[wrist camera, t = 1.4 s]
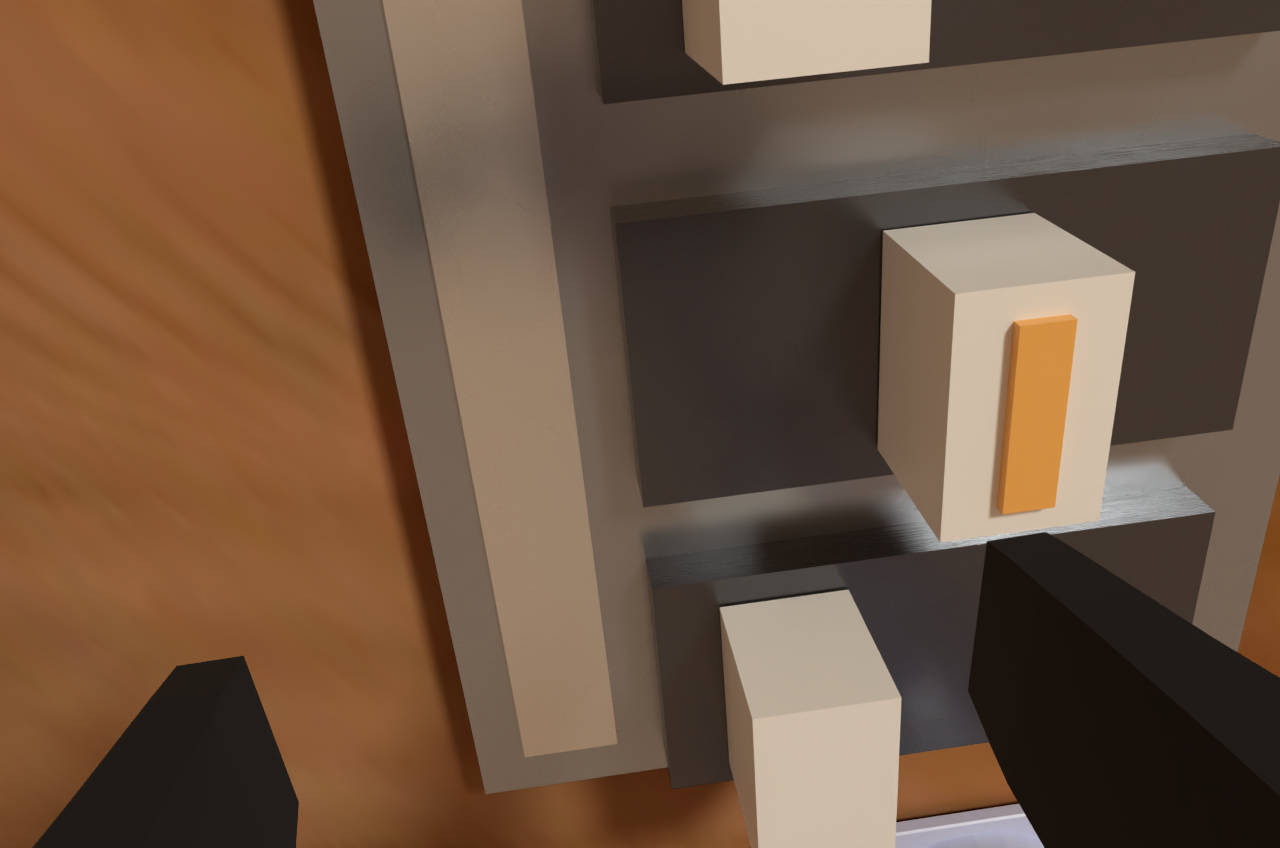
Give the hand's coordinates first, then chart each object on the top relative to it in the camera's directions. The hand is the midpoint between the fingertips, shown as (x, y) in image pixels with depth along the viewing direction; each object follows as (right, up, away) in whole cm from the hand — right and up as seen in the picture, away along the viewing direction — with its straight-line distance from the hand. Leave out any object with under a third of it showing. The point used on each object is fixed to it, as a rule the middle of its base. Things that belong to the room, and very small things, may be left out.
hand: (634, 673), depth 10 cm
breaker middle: (+5, +4, +7) cm, 10 cm away
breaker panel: (+4, +5, +9) cm, 11 cm away
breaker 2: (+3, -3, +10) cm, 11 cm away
